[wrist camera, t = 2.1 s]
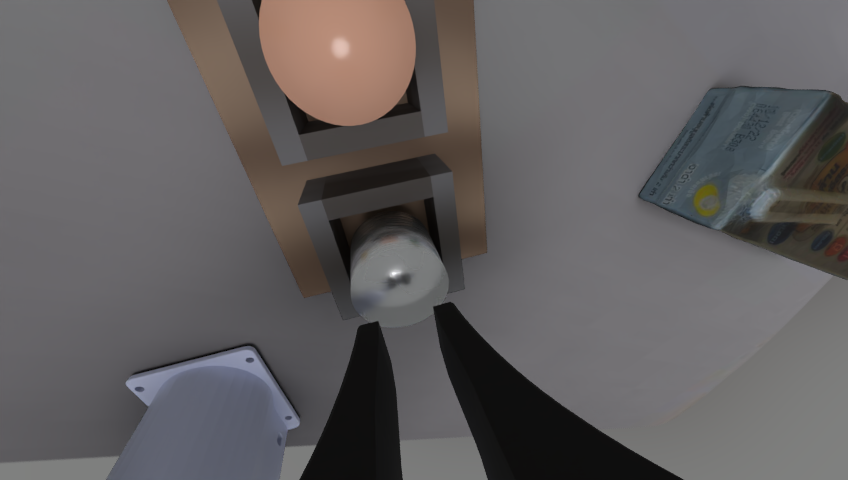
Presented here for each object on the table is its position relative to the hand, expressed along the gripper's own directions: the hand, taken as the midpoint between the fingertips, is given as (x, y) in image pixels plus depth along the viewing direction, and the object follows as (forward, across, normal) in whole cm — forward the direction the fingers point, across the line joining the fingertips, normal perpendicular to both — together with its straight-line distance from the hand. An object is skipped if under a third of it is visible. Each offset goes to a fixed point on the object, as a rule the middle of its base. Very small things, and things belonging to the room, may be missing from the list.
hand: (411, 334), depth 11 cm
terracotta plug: (+6, 0, -8) cm, 10 cm away
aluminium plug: (+6, 0, 0) cm, 6 cm away
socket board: (+9, 0, -4) cm, 10 cm away
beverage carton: (+10, -27, +4) cm, 29 cm away
